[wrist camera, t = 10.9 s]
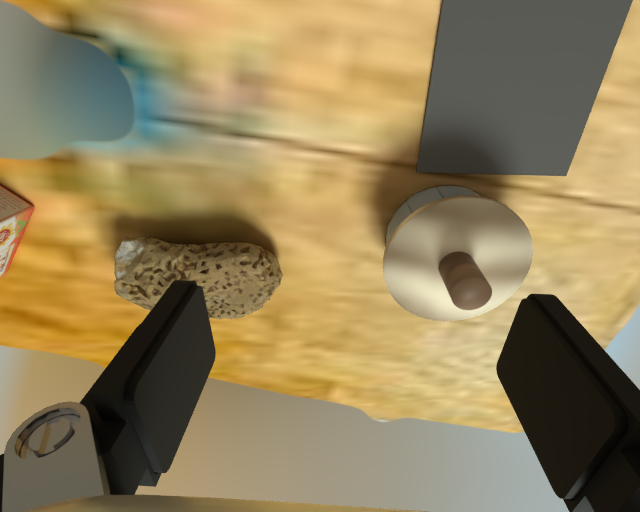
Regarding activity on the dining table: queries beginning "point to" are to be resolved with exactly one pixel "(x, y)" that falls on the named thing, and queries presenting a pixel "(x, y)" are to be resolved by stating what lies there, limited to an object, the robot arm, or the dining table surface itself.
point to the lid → (457, 258)
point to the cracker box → (11, 225)
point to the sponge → (198, 273)
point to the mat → (515, 83)
